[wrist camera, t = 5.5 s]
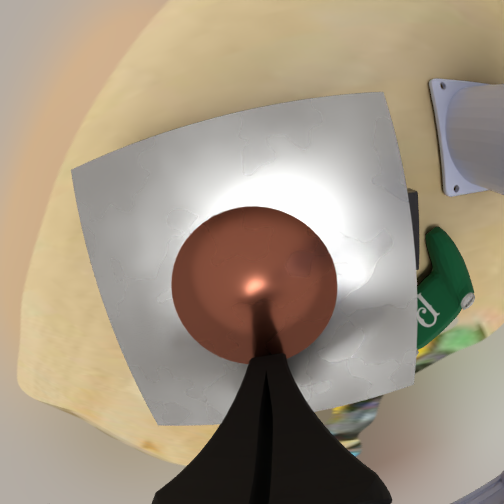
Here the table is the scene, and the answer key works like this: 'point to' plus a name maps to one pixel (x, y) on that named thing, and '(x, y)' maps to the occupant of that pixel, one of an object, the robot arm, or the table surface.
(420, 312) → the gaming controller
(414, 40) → the table surface
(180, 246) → the lid
